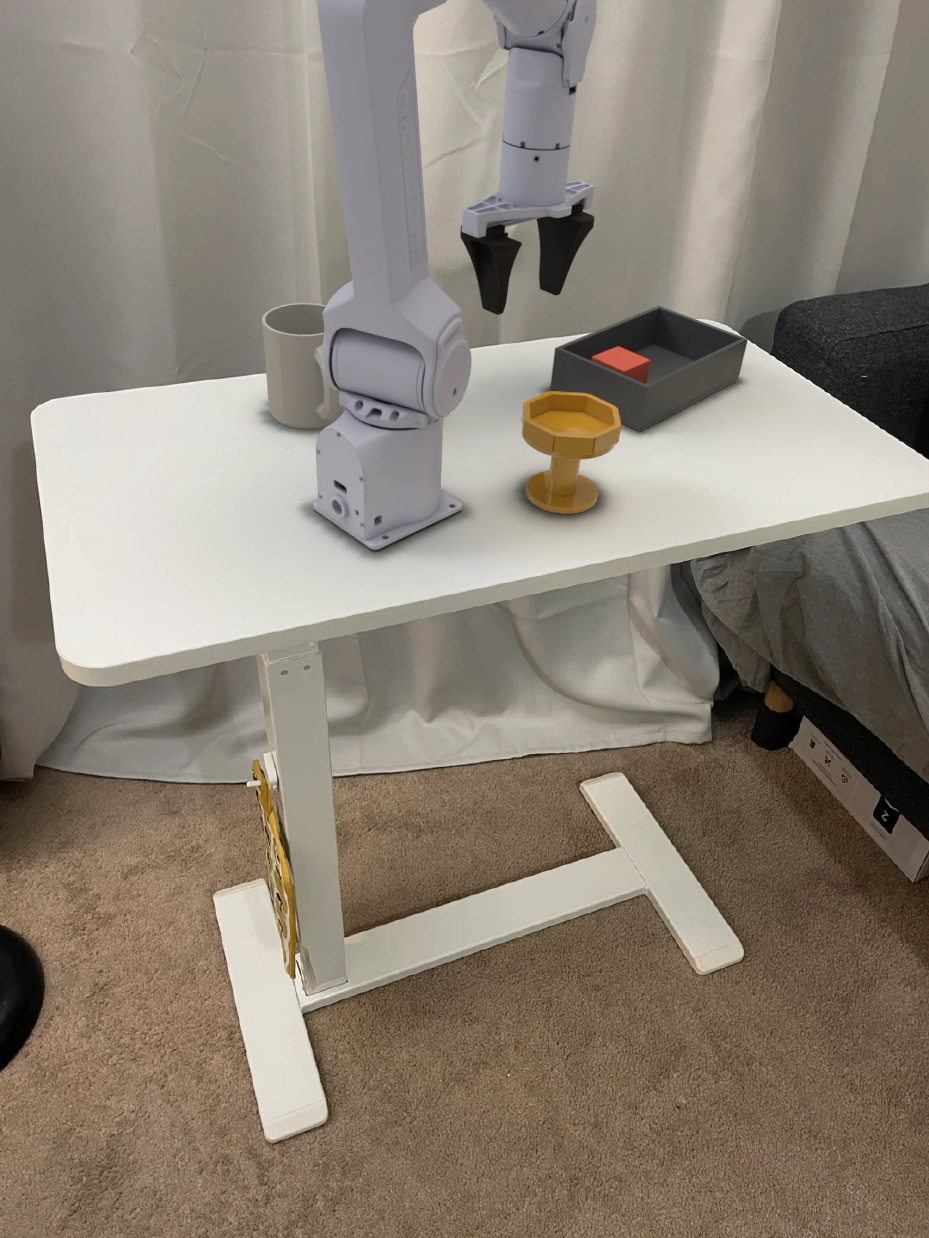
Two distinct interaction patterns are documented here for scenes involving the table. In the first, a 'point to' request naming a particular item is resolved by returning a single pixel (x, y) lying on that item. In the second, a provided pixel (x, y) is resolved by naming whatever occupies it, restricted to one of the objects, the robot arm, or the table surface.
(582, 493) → the bowl
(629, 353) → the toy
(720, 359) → the bin
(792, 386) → the table surface
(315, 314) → the cup
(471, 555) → the table surface
